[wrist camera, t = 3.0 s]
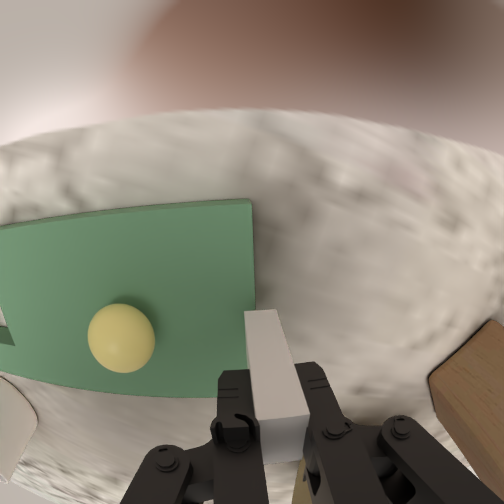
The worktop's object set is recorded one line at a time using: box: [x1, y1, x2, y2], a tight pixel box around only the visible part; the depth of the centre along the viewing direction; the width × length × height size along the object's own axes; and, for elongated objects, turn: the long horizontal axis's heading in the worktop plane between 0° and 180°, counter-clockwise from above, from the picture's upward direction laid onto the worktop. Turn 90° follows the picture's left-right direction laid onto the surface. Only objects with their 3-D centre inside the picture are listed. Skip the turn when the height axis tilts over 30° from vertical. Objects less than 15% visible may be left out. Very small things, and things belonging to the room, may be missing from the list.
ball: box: [88, 304, 155, 373], centre depth 13 cm, size 4×4×4 cm
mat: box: [0, 199, 255, 398], centre depth 14 cm, size 28×12×4 cm, turn 92°
